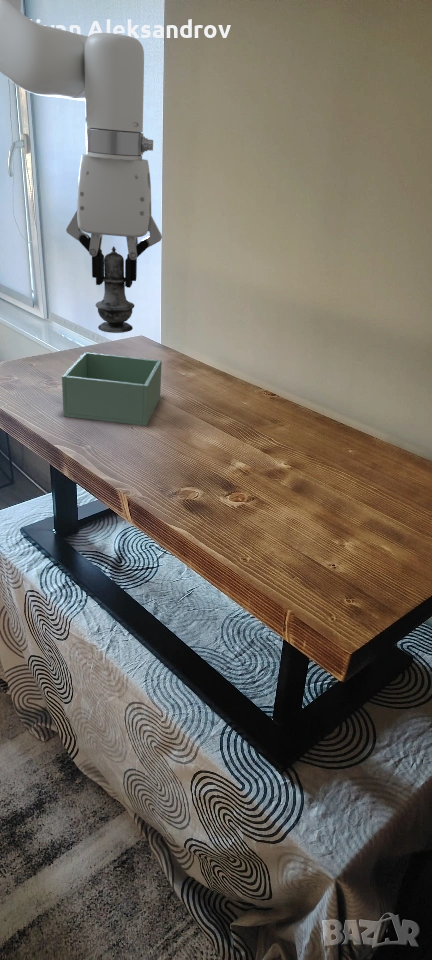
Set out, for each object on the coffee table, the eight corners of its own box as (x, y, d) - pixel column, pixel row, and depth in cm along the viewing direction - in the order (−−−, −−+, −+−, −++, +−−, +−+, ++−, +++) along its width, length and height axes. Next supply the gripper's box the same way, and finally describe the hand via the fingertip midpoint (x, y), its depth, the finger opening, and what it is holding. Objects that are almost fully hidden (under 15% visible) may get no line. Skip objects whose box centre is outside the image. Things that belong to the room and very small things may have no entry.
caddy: (63, 416, 98) (61, 376, 95) (85, 388, 109) (84, 351, 105) (146, 425, 97) (147, 386, 94) (160, 397, 108) (161, 360, 105)
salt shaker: (132, 334, 94) (131, 251, 88) (93, 332, 94) (90, 248, 88) (136, 323, 99) (136, 244, 93) (99, 321, 99) (96, 241, 93)
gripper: (177, 150, 88) (171, 283, 97) (59, 139, 88) (64, 274, 97) (173, 152, 81) (167, 295, 90) (45, 140, 81) (52, 285, 90)
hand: (114, 283), depth 93 cm, fingers closed on salt shaker, 3 cm apart
